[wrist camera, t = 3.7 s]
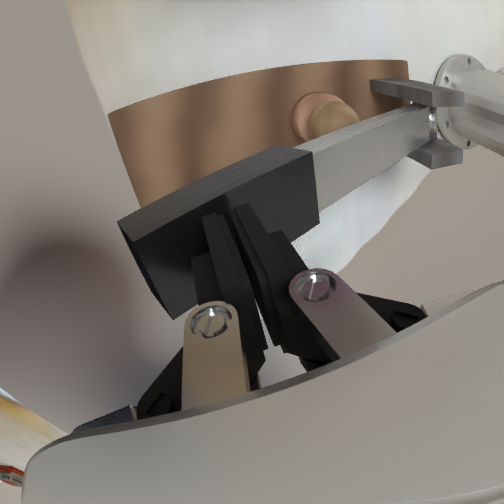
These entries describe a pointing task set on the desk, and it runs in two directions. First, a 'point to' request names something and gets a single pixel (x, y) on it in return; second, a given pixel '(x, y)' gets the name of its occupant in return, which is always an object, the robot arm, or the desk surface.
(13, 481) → the medicine box
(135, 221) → the lever
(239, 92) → the press base
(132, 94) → the desk surface
